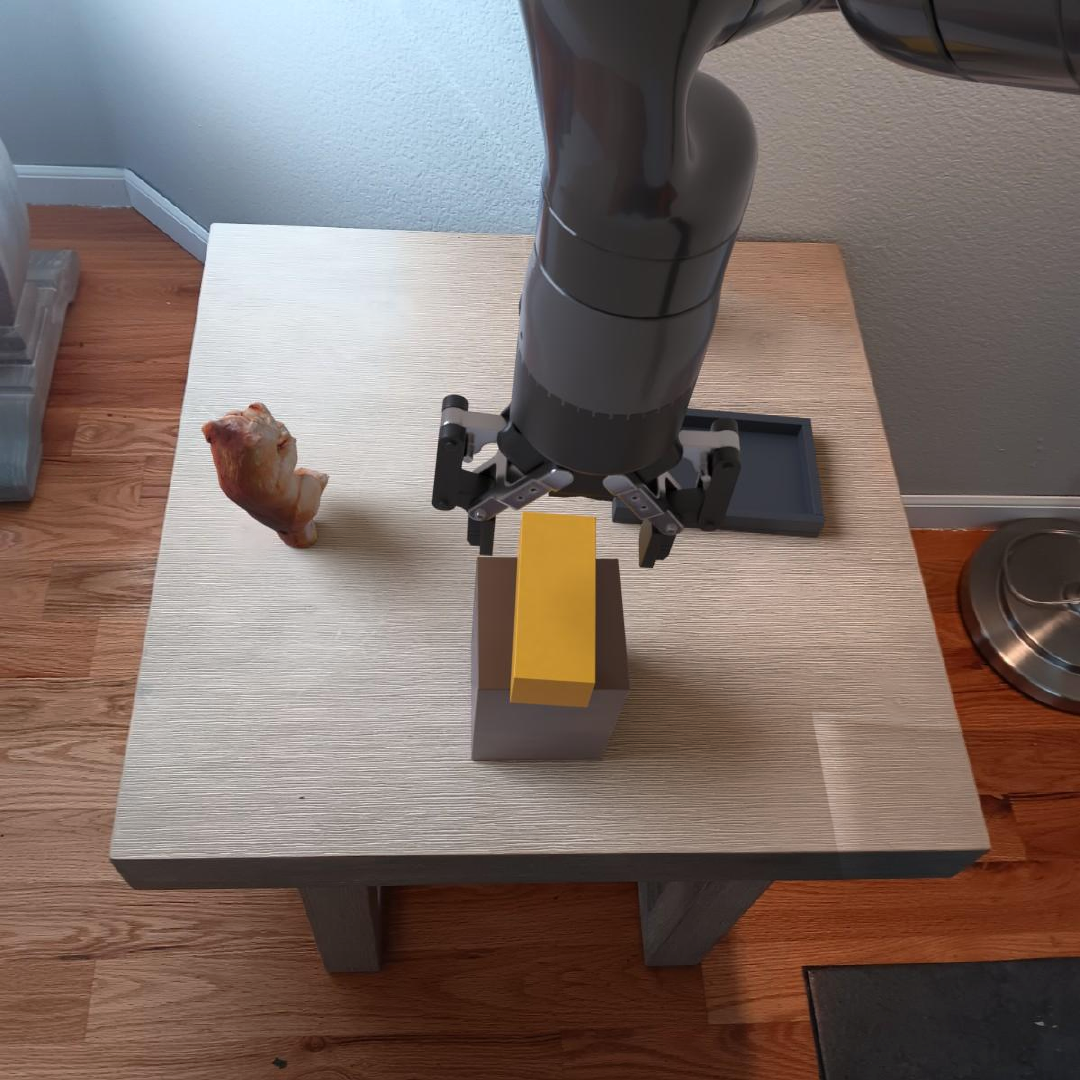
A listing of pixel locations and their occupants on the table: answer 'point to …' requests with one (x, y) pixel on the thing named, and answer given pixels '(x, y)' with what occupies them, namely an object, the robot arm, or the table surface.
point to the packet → (555, 610)
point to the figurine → (266, 473)
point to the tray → (760, 475)
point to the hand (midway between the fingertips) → (566, 547)
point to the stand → (537, 726)
